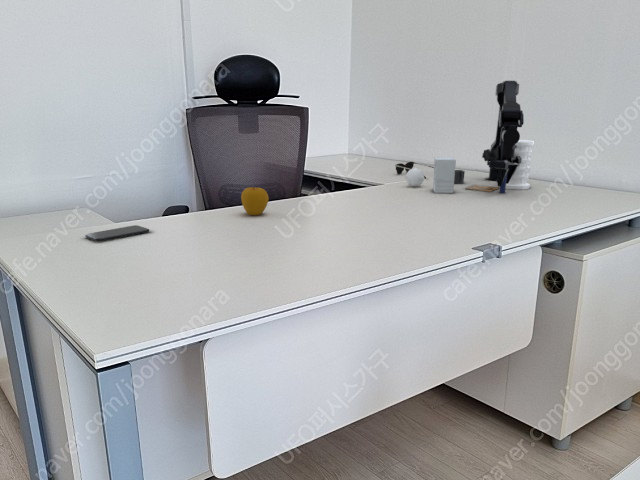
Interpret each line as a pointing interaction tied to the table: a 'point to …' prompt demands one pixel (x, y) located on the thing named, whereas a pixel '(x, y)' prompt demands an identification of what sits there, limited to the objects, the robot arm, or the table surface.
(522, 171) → the decorative container
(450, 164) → the white packaging box
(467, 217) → the table surface
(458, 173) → the pen cup
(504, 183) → the marker
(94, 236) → the smartphone
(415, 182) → the white ball
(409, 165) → the sunglasses
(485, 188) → the sketch board
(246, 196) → the apple
